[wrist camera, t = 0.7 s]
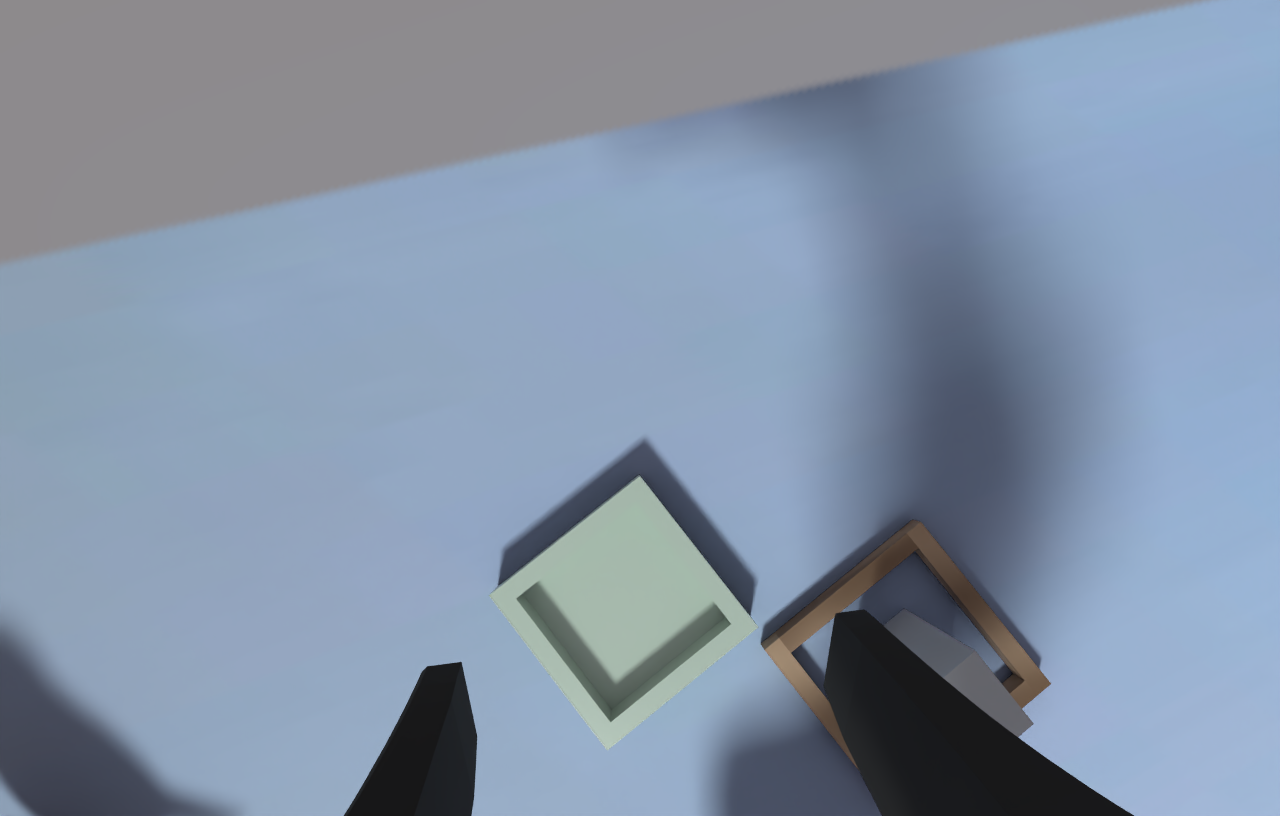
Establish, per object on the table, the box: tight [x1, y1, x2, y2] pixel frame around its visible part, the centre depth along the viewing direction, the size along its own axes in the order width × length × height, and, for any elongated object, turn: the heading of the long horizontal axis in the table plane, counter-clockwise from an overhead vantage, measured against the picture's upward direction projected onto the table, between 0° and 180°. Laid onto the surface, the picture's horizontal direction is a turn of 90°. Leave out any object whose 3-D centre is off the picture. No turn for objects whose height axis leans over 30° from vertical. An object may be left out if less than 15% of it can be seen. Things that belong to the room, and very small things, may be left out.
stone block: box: [883, 609, 1033, 737], centre depth 30 cm, size 4×4×7 cm
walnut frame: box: [761, 520, 1051, 770], centre depth 33 cm, size 11×11×1 cm
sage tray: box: [489, 474, 758, 750], centre depth 32 cm, size 10×10×2 cm
